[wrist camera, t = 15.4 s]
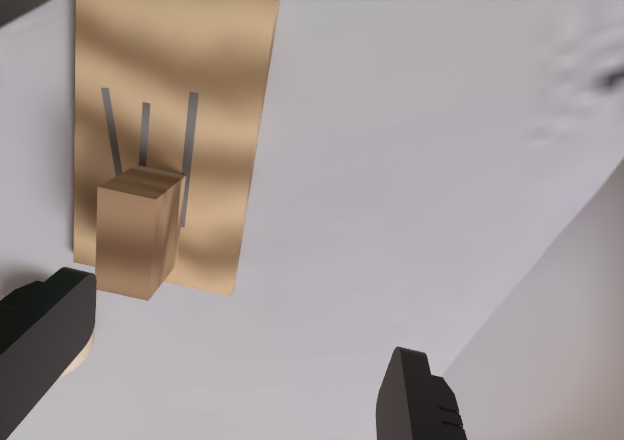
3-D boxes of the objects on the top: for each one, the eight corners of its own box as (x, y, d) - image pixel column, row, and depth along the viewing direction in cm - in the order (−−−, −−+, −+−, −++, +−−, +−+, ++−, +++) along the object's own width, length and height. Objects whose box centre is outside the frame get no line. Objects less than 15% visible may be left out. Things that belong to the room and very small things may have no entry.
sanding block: (136, 164, 36) (97, 186, 31) (185, 175, 36) (156, 199, 31) (131, 254, 39) (94, 289, 34) (177, 264, 39) (148, 300, 34)
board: (85, -45, 32) (76, -48, 31) (280, -2, 32) (277, -4, 31) (81, 256, 41) (73, 262, 40) (233, 289, 41) (230, 296, 40)
